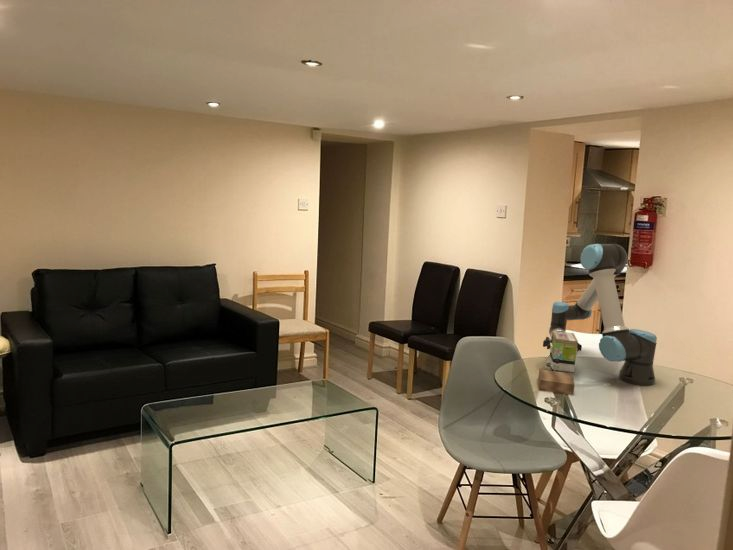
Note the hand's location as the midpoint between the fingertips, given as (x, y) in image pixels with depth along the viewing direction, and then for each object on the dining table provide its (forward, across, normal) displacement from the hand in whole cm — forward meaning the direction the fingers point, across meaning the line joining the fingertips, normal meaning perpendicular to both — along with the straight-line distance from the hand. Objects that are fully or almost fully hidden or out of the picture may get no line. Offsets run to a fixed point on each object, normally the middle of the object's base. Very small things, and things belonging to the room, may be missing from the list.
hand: (563, 350), depth 270 cm
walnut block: (+15, +4, -13) cm, 20 cm away
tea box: (-3, 0, -9) cm, 9 cm away
